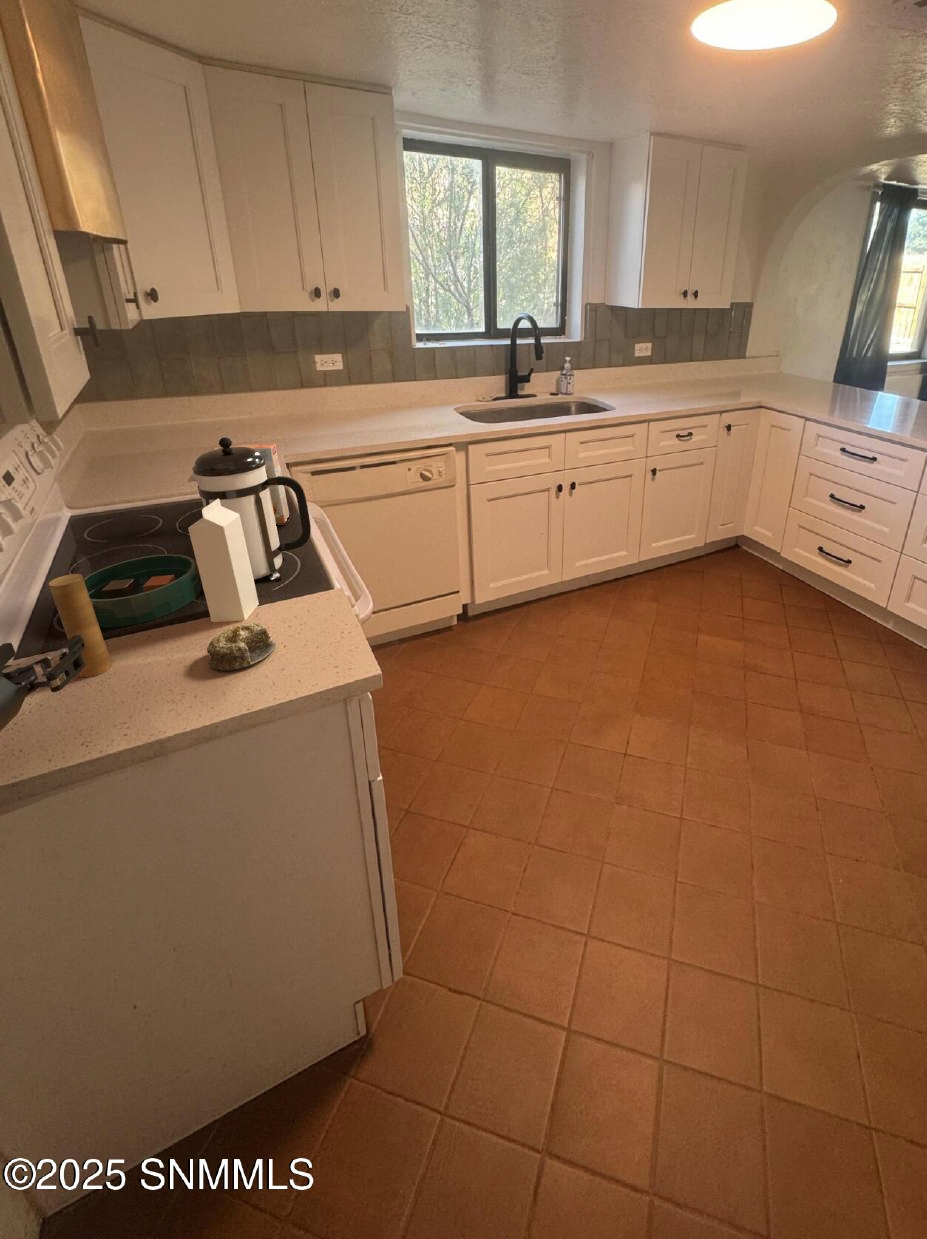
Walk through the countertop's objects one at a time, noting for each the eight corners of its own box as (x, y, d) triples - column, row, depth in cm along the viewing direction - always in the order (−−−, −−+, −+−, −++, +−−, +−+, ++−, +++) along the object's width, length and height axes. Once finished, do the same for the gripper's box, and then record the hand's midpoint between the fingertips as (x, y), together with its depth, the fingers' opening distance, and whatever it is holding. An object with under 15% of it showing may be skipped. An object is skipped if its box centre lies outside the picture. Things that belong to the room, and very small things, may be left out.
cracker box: (290, 518, 154) (276, 441, 147) (285, 526, 148) (270, 447, 141) (234, 523, 151) (216, 445, 144) (226, 531, 146) (208, 451, 139)
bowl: (59, 637, 101) (48, 606, 99) (114, 585, 119) (106, 559, 117) (179, 623, 105) (171, 594, 103) (215, 575, 123) (209, 550, 121)
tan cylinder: (75, 679, 90) (42, 587, 84) (89, 664, 93) (58, 575, 88) (103, 675, 90) (73, 584, 85) (116, 660, 94) (88, 572, 89)
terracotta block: (148, 604, 110) (142, 586, 109) (157, 594, 114) (151, 576, 112) (171, 602, 111) (165, 583, 109) (179, 592, 115) (174, 574, 113)
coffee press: (246, 601, 112) (213, 451, 102) (198, 583, 119) (162, 441, 109) (320, 566, 126) (296, 431, 116) (272, 552, 134) (247, 424, 123)
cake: (197, 677, 90) (186, 648, 89) (228, 642, 100) (219, 615, 98) (260, 670, 90) (251, 640, 89) (285, 635, 100) (277, 608, 98)
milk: (259, 606, 110) (237, 497, 103) (245, 623, 104) (220, 509, 97) (227, 607, 110) (202, 498, 102) (210, 624, 104) (183, 510, 97)
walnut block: (106, 609, 109) (100, 590, 107) (117, 599, 112) (111, 580, 111) (130, 606, 110) (124, 588, 108) (140, 596, 113) (134, 578, 112)
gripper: (19, 687, 66) (94, 615, 81) (-129, 705, 64) (-23, 627, 79) (40, 739, 69) (109, 660, 84) (-102, 759, 66) (-4, 673, 81)
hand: (45, 644), depth 81 cm, fingers open, 8 cm apart
